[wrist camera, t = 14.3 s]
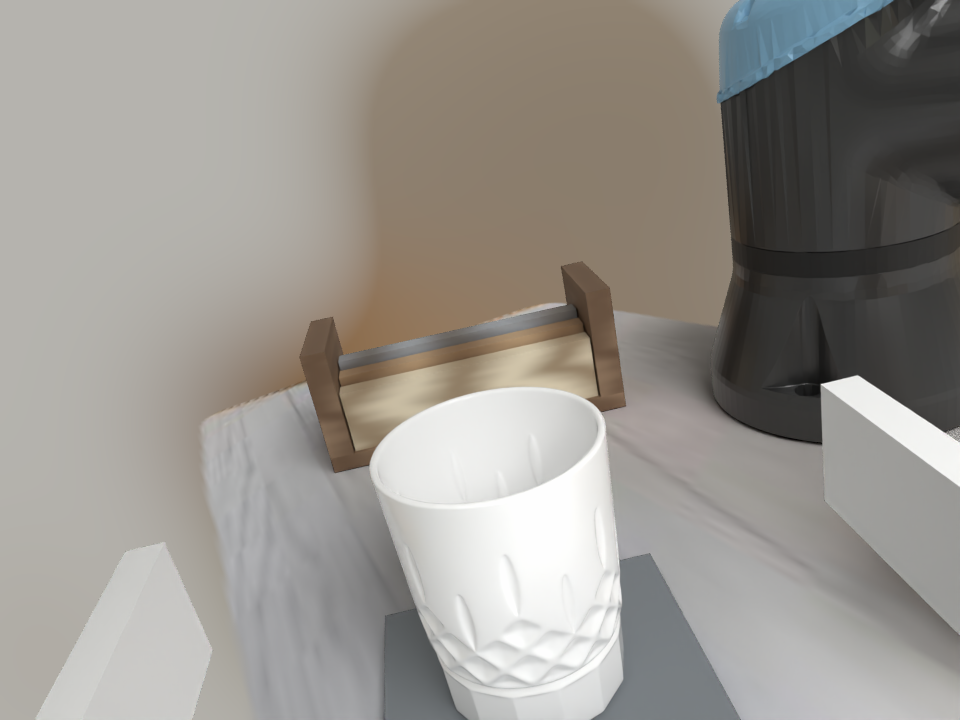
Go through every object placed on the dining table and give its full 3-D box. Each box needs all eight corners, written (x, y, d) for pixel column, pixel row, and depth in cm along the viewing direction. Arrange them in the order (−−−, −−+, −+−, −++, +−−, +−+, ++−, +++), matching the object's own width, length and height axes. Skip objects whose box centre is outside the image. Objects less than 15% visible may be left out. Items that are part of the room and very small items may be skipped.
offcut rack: (597, 366, 55) (582, 261, 52) (625, 406, 48) (609, 287, 45) (341, 425, 54) (310, 321, 51) (334, 472, 47) (299, 357, 45)
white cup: (458, 600, 33) (405, 397, 29) (640, 593, 31) (608, 375, 27) (411, 757, 26) (333, 515, 22) (644, 761, 24) (601, 497, 20)
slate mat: (651, 564, 34) (649, 553, 33) (751, 750, 24) (750, 737, 24) (388, 626, 33) (385, 615, 33) (388, 840, 24) (383, 827, 24)
